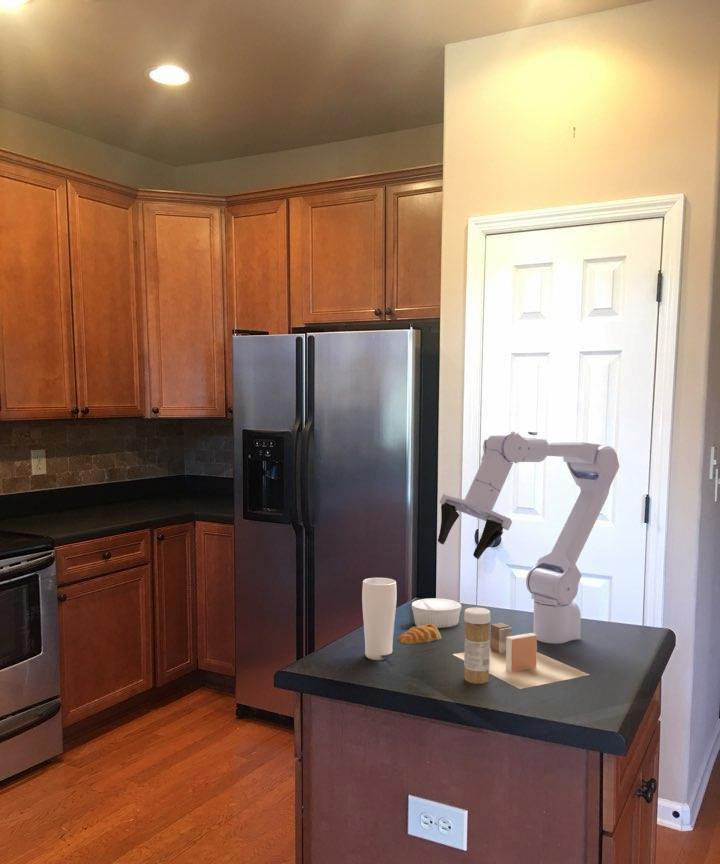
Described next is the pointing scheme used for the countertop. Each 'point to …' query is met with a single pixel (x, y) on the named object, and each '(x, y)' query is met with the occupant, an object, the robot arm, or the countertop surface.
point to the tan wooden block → (499, 637)
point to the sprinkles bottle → (477, 645)
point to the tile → (521, 652)
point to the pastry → (420, 634)
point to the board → (530, 671)
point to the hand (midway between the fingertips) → (457, 549)
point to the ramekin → (436, 612)
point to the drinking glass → (378, 616)
